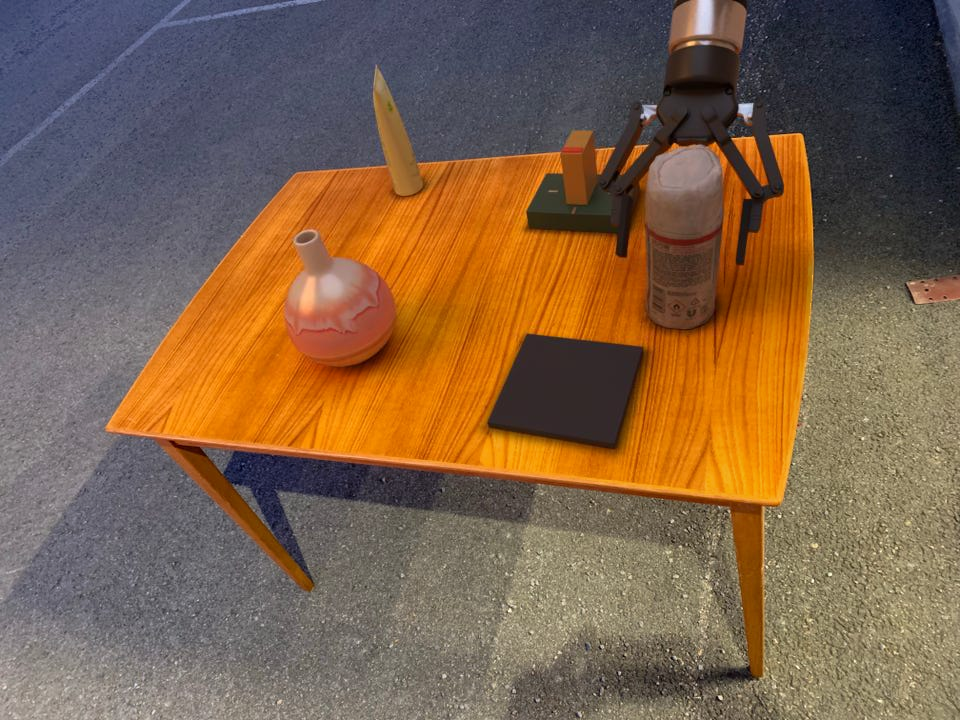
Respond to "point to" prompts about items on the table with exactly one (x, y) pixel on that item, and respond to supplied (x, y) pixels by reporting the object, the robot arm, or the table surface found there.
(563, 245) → the table surface
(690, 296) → the spray can
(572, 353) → the mat
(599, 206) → the green rectangular block
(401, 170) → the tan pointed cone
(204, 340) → the table surface
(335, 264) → the vase
